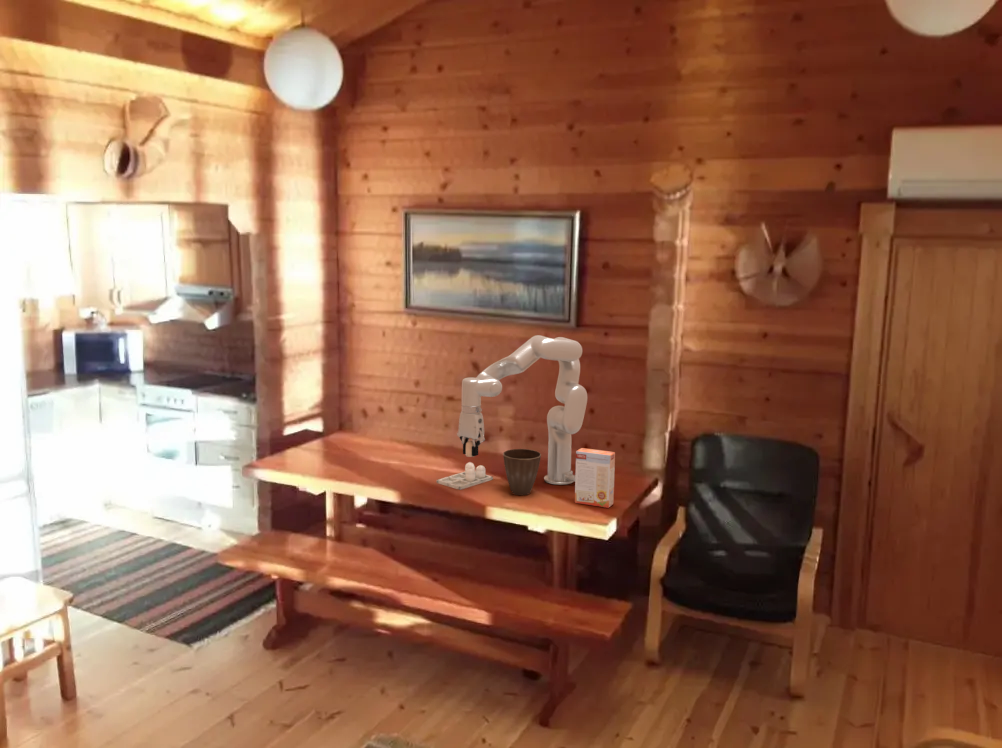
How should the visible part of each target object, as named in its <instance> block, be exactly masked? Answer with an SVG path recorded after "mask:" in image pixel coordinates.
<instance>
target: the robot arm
mask: <svg viewBox="0 0 1002 748" xmlns="http://www.w3.org/2000/svg"><path fill="white" fill-rule="evenodd" d="M582 355H583V346H582V345H581V344H580V343H579V341H577V340H573V339H570V338H566V337H563V336H558V337H555V338H551V337H548V336H544V335H540V334H539V335H538V334H537V335H536V334H535V335H533V336H532V337H530V338H529V339H527V341H525V342H524V343H523V344H522V345H520V346H519V347H518V348H517V349H515V351H514V352H512V353H511V354H510V355H507V356H506V357H503V358H501V359H499V360H497V361H495V362H494V363H492V364H490V365H489V366H487V367H486V368H484V369H483V370H482V371H481V372H480V373H478V374H477V376H476V377H472V376H471V377H465V378H463V379H462V380H461V411H460V413H459V419H458V430H457V433H456V436H457V437H458V438H459V440H460V441H461V444H462V454H463V455H466V443H467V442H468V441H470V440H471V441H473V446H472V456H474V457H476V456H478V455H479V446H480V445H481V444H482V443H483V442H485V441H486V439H485V424H484V421H485V420H484V416H483V413H482V411H483V408H481V406H482V404H481V403H482V397H488V398H489V397H490V398H492V397H493V398H494V397H497V396H499V395H500V393H502V390H503V384H502V382H501V381H500V380H502V379H503V378H505V377H508V376H513V375H518V374H521V373H524V372H525V371H526V370H527V369H529V368H530V367H531V366H532V365H533V364H534V363H536V362H537V361H538V360H540V359H544V360H550V361H557V362H558V365H559V370H558V376H557V381H556V386H555V391H554V397H555V398H556V401H558V402H559V403H561V404H564V406H563V405H555V406H553V407H551V408H550V409H549V410H548V413H547V415H546V424H547V429H548V430H547V431H548V444H547V445H548V446H547V447H548V450H547V474H546V475H544V477H543V479H544V482H545V483H547V484H551V485H556V486H557V485H560V486H562V485H570V484H572V483H574V482H575V474H574V471H573V470H572V435H574V434H576V433H578V432H579V431H580V430H581V428H582V425H583V424H584V423H583V422H584V417H585V414H586V408H587V403H588V393H587V390H586V388H585V387H584V386H582V385H581V384H579V382H580V374H581V362H580V359H581V357H582Z"/></svg>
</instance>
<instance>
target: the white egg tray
mask: <svg viewBox="0 0 1002 748" xmlns="http://www.w3.org/2000/svg"><path fill="white" fill-rule="evenodd" d="M493 479H494V477H493V476H492V475H487V474H485V478H483V479H478V478H476V471H475V481H474V482H471V483H470V482H467V481H465V471H462V472H459V473H456V474H451V475H449V476H445V477H442V478H439V479H436V484H439V485H443V486H445V487H449V488H453V489H455V490H459V491H460V490H464V489H468V488H471V487H473V486H477V485H480V484H483V483H486V482H487V483H488V482H489V481H492V480H493Z"/></svg>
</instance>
